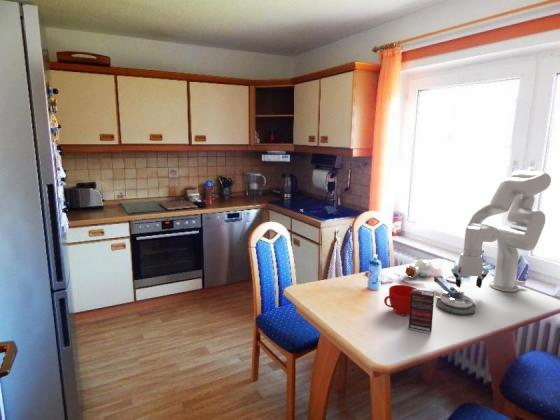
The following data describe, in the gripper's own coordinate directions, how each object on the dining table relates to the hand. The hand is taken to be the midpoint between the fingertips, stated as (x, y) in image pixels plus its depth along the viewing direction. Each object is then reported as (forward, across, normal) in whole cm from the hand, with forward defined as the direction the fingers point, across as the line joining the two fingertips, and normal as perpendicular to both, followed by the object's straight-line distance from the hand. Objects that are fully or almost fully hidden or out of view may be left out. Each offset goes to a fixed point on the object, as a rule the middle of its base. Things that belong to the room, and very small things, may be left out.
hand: (468, 286), depth 178 cm
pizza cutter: (+3, +11, +4) cm, 12 cm away
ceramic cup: (+6, +38, +18) cm, 42 cm away
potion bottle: (+5, +14, -26) cm, 30 cm away
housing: (+5, +11, +12) cm, 17 cm away
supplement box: (+6, +34, +32) cm, 47 cm away
